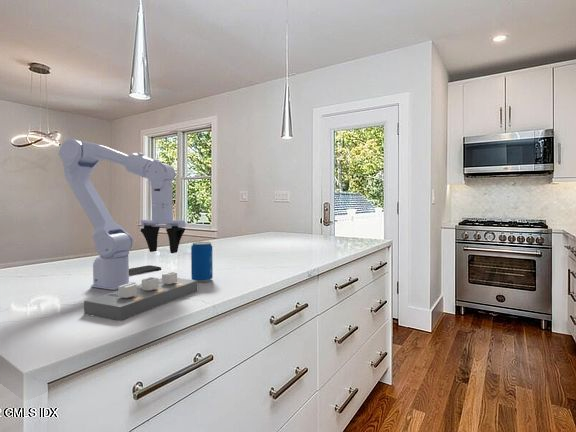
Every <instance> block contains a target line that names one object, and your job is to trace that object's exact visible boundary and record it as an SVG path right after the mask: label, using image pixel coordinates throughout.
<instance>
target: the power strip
mask: <svg viewBox="0 0 576 432" xmlns="http://www.w3.org/2000/svg"><path fill="white" fill-rule="evenodd" d="M198 290H199V289H198V282H197V280H192V279H185V278H178V277H177V282H175V283H172V284H164V283H162V277H161V278H158V288H156V289H153V290H150V291H149V290H142V283H141V284H137V295H134V296H131V297H128V298H123V297H118V290H116V291H113V292H111V293H107V294H103V295H99V296H96V297H92V298H89V299H86V300H83V314H84V315H86V314H88V315H87V316H91V315H93V317H98V318H102V319H103V318H104V319H108V320H114V321H117V322H118V321H119V322H122V321H125V320H128V319H129V318H132V317H135V316H137V315H140V314H143V313H145V312H147V311H151V310H153V309H155V308H158V307H161V306H163V305H166V304H168V303H170V302H173V301H176V300H178V299H180V298H184V297H185V296H188V295H192V294H195V293H197V292H198Z"/></svg>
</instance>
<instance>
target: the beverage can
mask: <svg viewBox="0 0 576 432" xmlns="http://www.w3.org/2000/svg"><path fill="white" fill-rule="evenodd" d="M190 247H191V248H190V250H191V251H190V253H191V257H190V258H191V260H190V261H191V263H190V264H191V265H190V268H191V271H190V273H191V280H197V283H208V282H210V281H211V280H212V279H213V275H214V273H213V270H214V269H213V245H212V243H211V242H210V241H195V242H192V245H191V246H190Z"/></svg>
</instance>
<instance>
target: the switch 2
mask: <svg viewBox="0 0 576 432" xmlns="http://www.w3.org/2000/svg"><path fill="white" fill-rule="evenodd" d="M158 279H159V277H147V278H144V279H141V284H142V290H149V291H150V290H153V289H156V288H158Z"/></svg>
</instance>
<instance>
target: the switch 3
mask: <svg viewBox="0 0 576 432" xmlns="http://www.w3.org/2000/svg"><path fill="white" fill-rule="evenodd" d="M161 278H162V283H164V284H172V283H175V282H177V278H178V272H174V271H172V272H171V271H169V272H165V273H162V274H161Z"/></svg>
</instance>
